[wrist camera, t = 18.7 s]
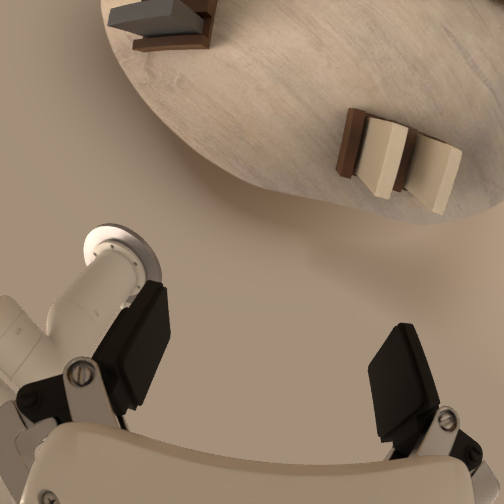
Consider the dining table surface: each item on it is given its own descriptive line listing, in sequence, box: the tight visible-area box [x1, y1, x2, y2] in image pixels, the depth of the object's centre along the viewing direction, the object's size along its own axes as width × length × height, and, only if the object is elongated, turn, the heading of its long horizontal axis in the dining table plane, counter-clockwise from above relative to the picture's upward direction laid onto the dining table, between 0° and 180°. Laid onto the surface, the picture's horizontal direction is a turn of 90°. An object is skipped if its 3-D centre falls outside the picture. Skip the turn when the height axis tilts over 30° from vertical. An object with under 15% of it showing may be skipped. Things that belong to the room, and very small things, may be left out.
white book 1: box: [354, 117, 408, 200], centre depth 28 cm, size 8×2×10 cm, turn 172°
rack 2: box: [336, 108, 446, 192], centre depth 31 cm, size 9×14×4 cm, turn 82°
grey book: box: [107, 0, 204, 38], centre depth 22 cm, size 2×8×10 cm, turn 82°
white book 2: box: [403, 134, 463, 215], centre depth 27 cm, size 2×8×10 cm, turn 172°
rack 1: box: [132, 0, 218, 52], centre depth 23 cm, size 14×10×4 cm
